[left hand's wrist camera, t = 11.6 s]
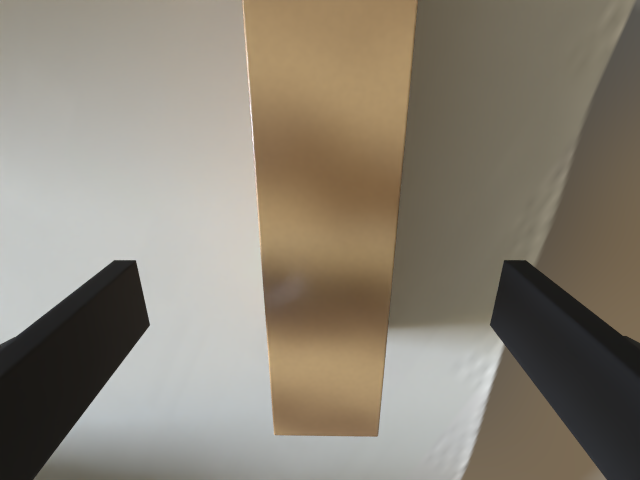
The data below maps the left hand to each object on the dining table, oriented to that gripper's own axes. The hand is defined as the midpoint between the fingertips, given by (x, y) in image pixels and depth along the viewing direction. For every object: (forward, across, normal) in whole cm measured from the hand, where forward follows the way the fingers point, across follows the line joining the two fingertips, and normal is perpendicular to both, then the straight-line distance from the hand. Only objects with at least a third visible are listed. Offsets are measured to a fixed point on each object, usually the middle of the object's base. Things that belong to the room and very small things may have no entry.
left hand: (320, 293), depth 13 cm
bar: (+7, 0, -23) cm, 24 cm away
